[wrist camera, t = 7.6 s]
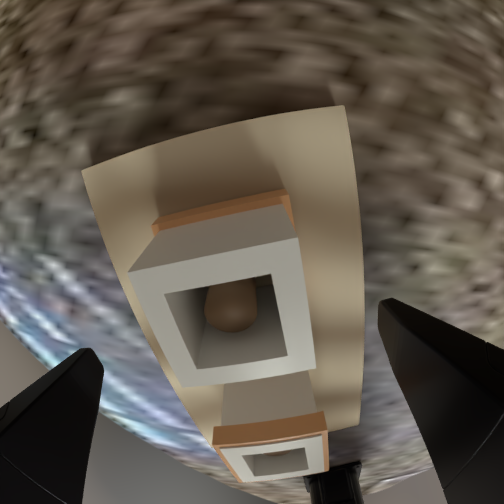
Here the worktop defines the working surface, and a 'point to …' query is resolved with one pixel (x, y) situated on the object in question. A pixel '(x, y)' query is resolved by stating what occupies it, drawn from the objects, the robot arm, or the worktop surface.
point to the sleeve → (221, 271)
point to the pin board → (244, 291)
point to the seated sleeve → (272, 429)
